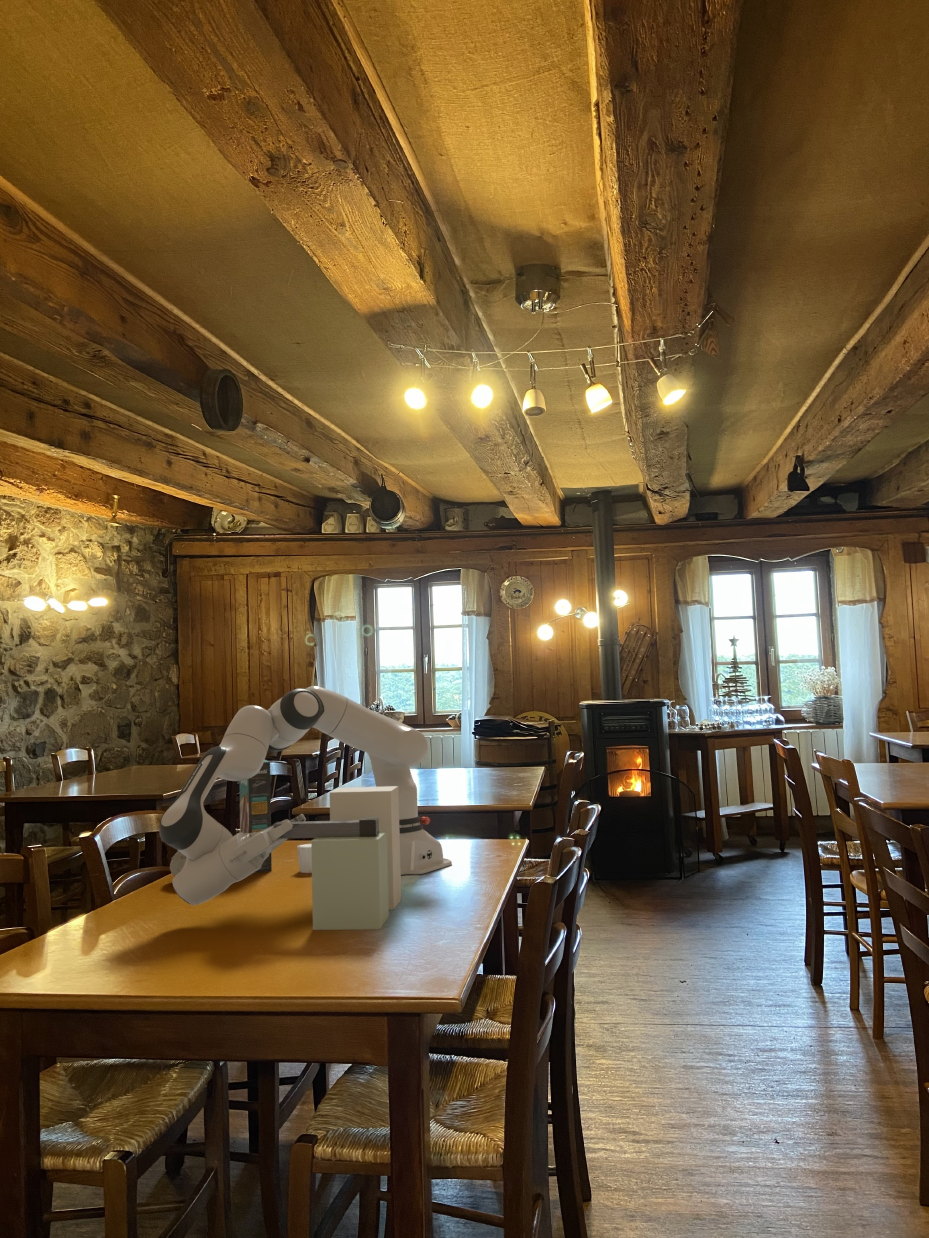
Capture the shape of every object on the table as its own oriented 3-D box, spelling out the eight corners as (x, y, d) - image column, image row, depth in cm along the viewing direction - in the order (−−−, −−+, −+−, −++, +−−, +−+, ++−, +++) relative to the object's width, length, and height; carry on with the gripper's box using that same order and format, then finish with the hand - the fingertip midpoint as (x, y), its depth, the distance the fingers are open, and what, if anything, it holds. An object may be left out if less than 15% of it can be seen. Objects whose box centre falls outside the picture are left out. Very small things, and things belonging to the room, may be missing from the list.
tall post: (331, 910, 195) (329, 792, 197) (342, 899, 205) (339, 787, 207) (393, 909, 194) (390, 790, 196) (401, 899, 204) (398, 786, 206)
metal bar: (273, 838, 185) (272, 821, 185) (278, 836, 188) (277, 819, 189) (376, 836, 183) (375, 819, 183) (379, 833, 187) (378, 817, 187)
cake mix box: (240, 860, 261) (239, 758, 263) (261, 858, 263) (259, 757, 266) (249, 873, 240) (248, 763, 243) (271, 871, 243) (270, 761, 245)
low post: (312, 929, 179) (311, 840, 181) (325, 917, 189) (323, 832, 191) (380, 929, 178) (378, 839, 180) (389, 916, 188) (386, 831, 190)
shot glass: (317, 873, 237) (317, 847, 238) (293, 873, 238) (293, 847, 239) (326, 868, 244) (326, 842, 244) (303, 868, 245) (302, 842, 246)
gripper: (218, 850, 177) (275, 814, 177) (251, 833, 197) (303, 801, 197) (233, 877, 176) (291, 841, 176) (265, 858, 197) (317, 825, 196)
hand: (297, 820), depth 186 cm, fingers open, 8 cm apart
